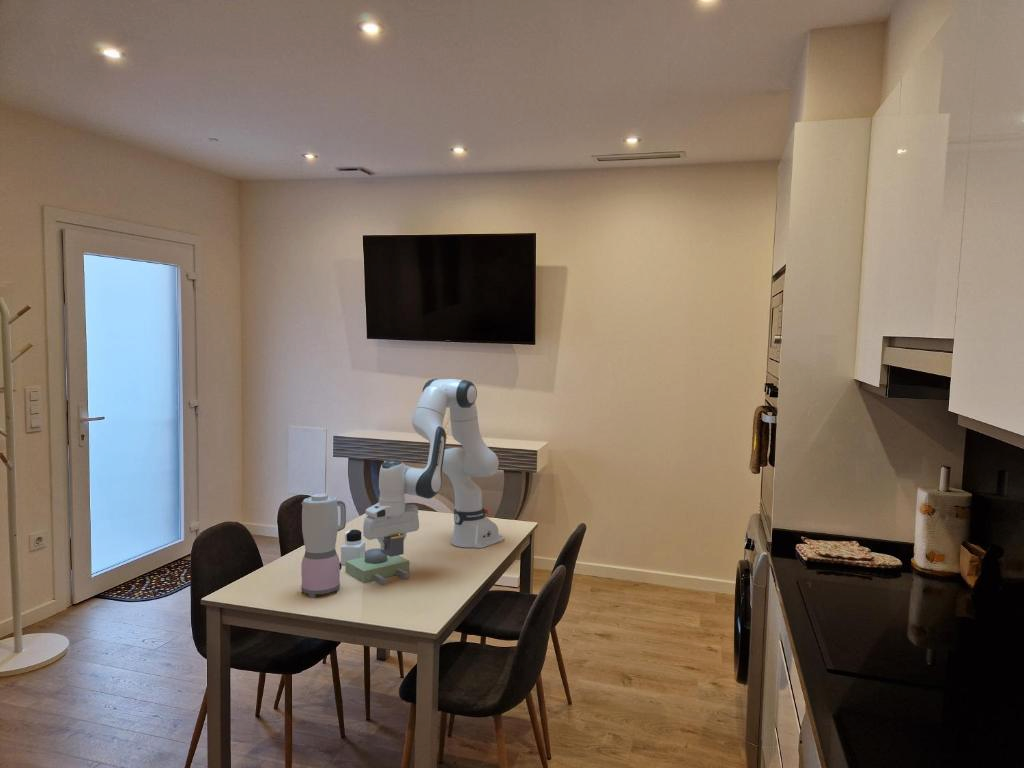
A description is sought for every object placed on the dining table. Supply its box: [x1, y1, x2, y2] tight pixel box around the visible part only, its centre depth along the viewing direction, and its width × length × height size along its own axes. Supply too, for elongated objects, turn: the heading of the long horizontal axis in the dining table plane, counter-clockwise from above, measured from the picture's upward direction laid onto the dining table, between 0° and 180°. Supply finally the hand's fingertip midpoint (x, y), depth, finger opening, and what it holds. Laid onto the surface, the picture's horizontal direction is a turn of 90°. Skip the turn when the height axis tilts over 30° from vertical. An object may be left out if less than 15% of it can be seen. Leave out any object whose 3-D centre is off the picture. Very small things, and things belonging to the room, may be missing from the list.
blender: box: [300, 493, 347, 599], centre depth 222 cm, size 16×12×32 cm
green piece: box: [344, 548, 410, 586], centre depth 238 cm, size 18×20×7 cm
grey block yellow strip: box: [380, 534, 405, 557], centre depth 231 cm, size 5×7×7 cm
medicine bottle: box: [340, 529, 366, 566], centre depth 250 cm, size 7×7×12 cm
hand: (392, 547), depth 231 cm, fingers closed on grey block yellow strip, 5 cm apart
